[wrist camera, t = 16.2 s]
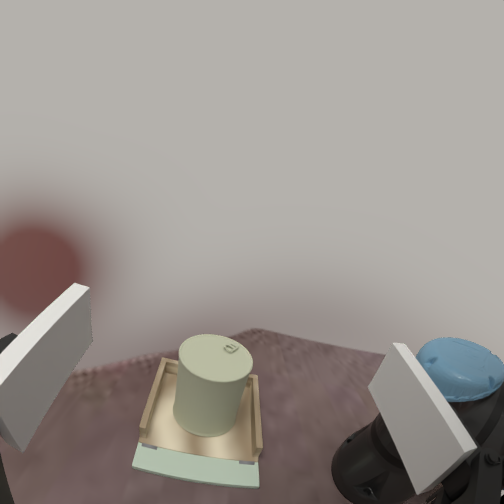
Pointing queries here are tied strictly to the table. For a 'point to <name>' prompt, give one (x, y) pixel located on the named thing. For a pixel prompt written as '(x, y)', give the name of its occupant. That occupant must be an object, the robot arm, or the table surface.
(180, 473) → the tailgate
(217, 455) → the tray
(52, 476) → the table surface
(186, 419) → the can
